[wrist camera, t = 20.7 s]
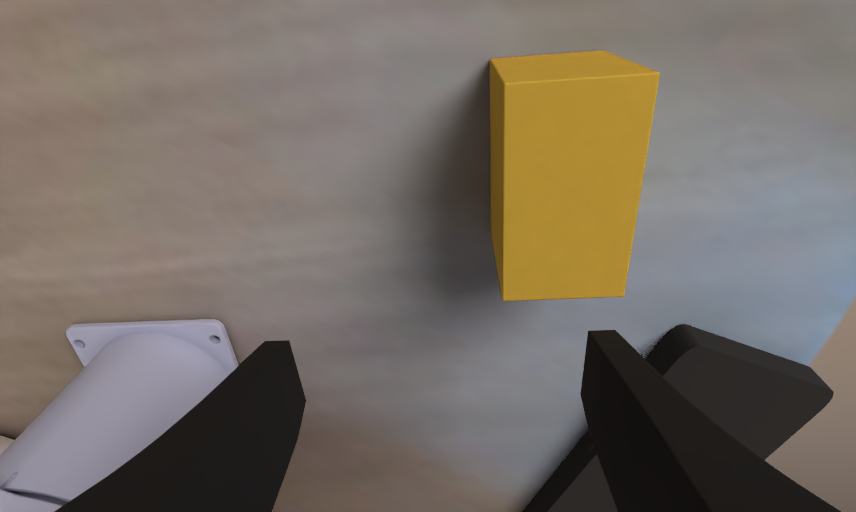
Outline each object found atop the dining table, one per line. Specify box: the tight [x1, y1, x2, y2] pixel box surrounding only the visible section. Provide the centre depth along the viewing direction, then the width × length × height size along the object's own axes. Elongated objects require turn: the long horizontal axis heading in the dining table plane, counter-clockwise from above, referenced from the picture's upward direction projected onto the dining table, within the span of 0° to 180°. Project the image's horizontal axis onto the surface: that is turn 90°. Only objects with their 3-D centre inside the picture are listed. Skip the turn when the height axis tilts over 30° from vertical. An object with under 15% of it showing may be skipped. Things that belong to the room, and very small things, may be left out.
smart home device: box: [523, 324, 833, 512], centre depth 26 cm, size 8×2×20 cm
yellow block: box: [490, 50, 660, 301], centre depth 16 cm, size 7×4×5 cm, turn 4°
